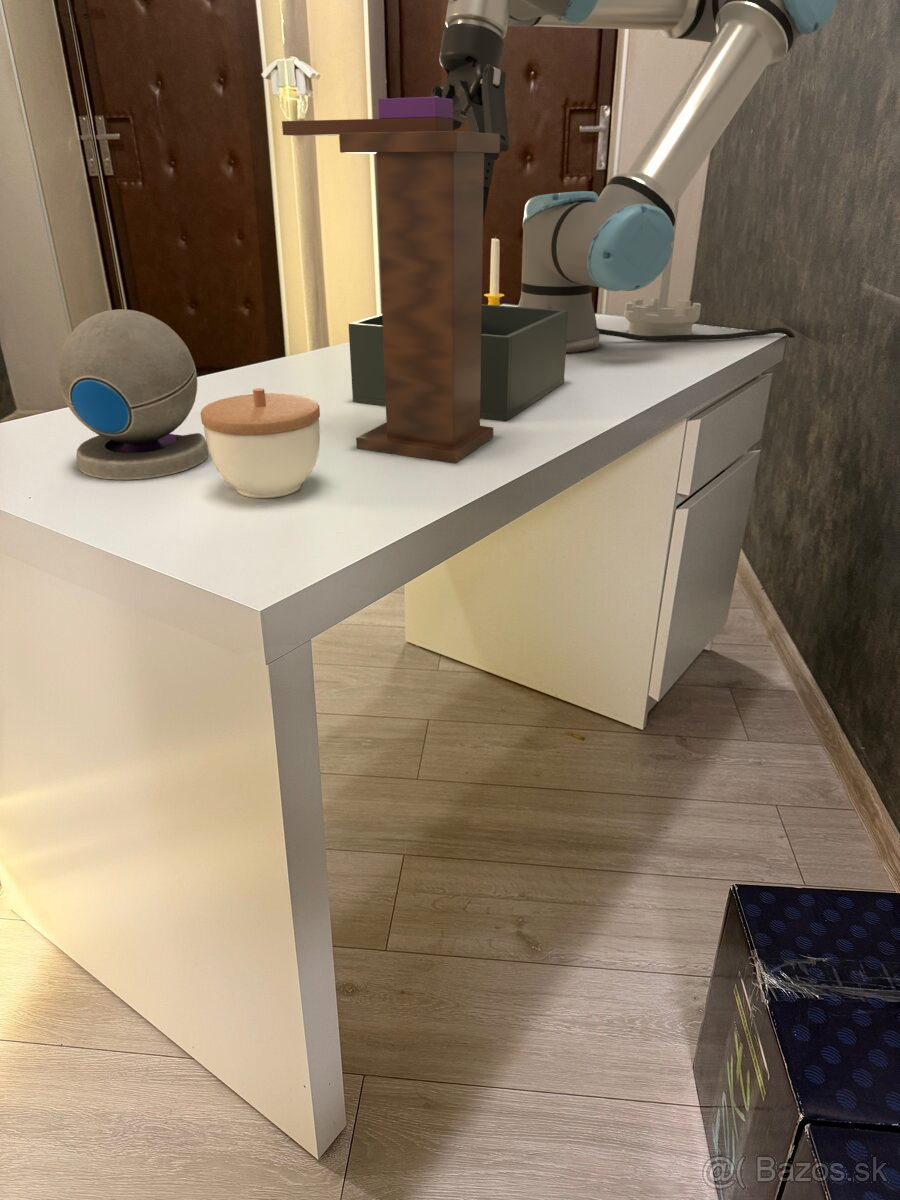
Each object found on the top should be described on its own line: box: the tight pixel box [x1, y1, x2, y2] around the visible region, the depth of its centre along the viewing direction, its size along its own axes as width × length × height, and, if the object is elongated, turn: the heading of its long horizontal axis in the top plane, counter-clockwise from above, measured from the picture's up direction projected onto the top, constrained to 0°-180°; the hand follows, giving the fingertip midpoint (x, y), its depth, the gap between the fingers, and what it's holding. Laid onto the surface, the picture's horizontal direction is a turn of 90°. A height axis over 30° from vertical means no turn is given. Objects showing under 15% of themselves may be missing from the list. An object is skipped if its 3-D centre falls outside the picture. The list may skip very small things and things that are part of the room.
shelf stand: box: [338, 130, 500, 464], centre depth 85 cm, size 12×10×30 cm
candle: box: [483, 235, 505, 306], centre depth 155 cm, size 5×5×16 cm
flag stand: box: [623, 199, 702, 336], centre depth 142 cm, size 13×13×30 cm
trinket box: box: [200, 387, 321, 499], centre depth 77 cm, size 11×11×9 cm
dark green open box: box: [348, 304, 568, 422], centre depth 110 cm, size 22×22×10 cm
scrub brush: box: [281, 96, 453, 137], centre depth 80 cm, size 17×4×3 cm, turn 64°
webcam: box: [57, 308, 209, 480], centre depth 83 cm, size 13×13×15 cm
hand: (445, 221), depth 106 cm, fingers open, 13 cm apart
